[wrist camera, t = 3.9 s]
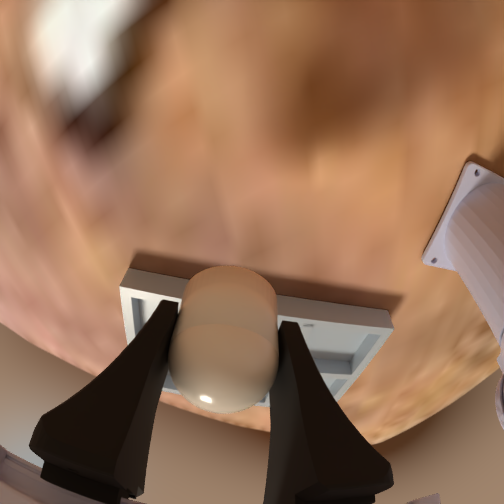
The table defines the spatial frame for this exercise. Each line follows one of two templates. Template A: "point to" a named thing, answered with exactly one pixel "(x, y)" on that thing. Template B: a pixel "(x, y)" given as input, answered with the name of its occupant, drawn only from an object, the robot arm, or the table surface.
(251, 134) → the table surface
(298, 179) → the table surface
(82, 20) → the table surface
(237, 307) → the egg
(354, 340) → the grey compartment tray
